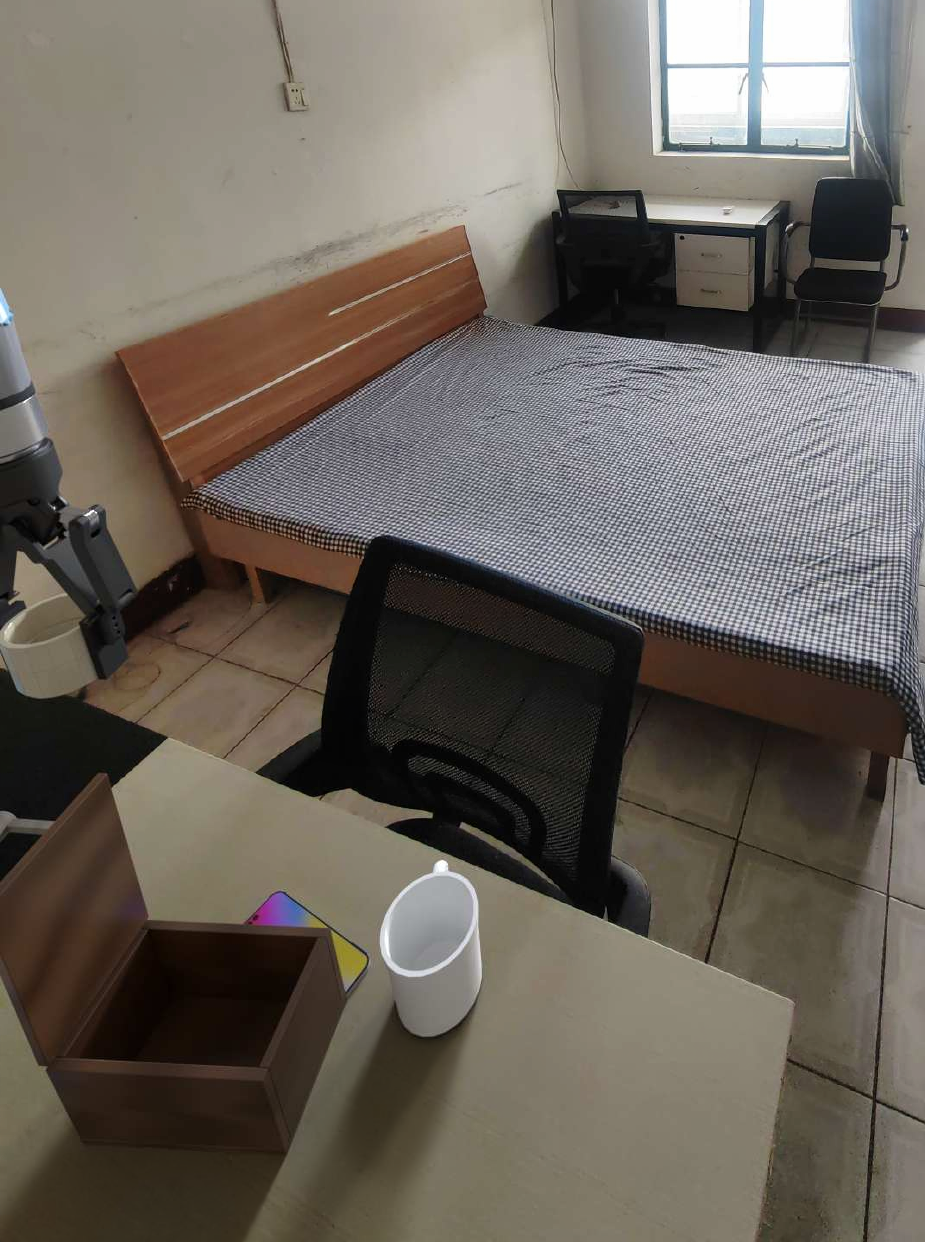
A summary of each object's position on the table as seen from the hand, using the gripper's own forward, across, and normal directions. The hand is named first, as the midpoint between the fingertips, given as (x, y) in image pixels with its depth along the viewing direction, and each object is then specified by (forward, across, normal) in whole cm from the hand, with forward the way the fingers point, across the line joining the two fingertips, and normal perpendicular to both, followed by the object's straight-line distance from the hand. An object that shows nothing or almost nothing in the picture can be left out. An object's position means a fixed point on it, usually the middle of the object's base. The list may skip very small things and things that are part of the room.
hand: (71, 667), depth 63 cm
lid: (+13, +8, -13) cm, 20 cm away
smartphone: (+34, +18, -5) cm, 38 cm away
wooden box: (+33, +16, -13) cm, 39 cm away
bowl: (0, 0, 0) cm, 0 cm away
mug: (+34, +33, -6) cm, 48 cm away
